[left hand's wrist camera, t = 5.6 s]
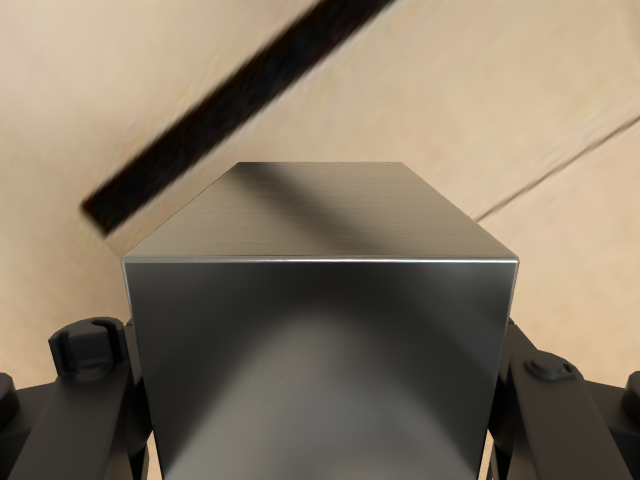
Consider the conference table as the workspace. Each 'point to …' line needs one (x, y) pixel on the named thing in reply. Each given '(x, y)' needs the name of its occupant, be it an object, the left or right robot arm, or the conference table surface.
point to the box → (320, 327)
